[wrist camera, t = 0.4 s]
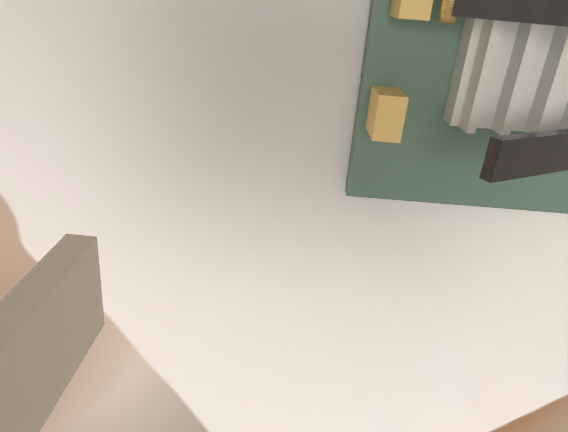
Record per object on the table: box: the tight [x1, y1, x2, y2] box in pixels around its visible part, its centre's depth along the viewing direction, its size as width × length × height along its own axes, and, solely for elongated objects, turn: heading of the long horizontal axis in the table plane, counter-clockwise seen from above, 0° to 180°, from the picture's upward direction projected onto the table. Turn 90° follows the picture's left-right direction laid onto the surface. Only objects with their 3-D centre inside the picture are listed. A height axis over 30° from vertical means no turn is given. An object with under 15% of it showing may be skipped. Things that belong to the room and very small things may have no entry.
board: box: [345, 0, 568, 214], centre depth 33 cm, size 23×22×5 cm
